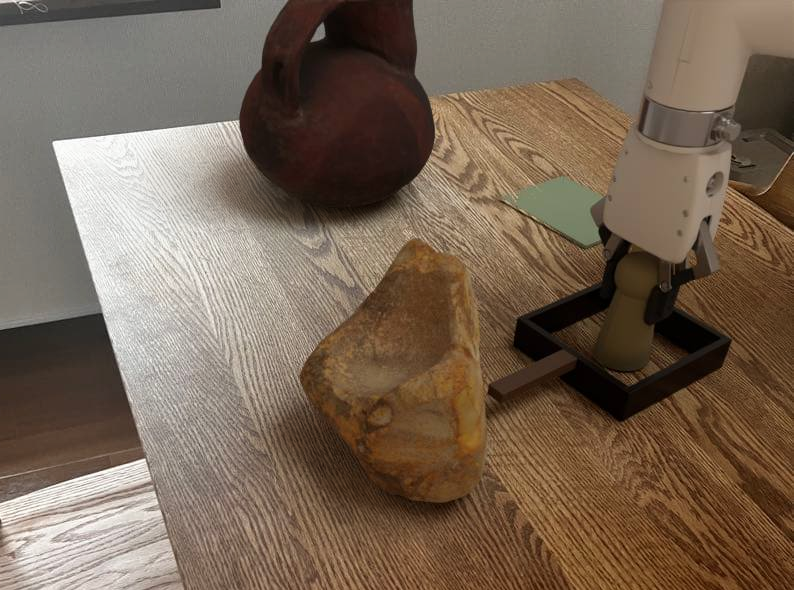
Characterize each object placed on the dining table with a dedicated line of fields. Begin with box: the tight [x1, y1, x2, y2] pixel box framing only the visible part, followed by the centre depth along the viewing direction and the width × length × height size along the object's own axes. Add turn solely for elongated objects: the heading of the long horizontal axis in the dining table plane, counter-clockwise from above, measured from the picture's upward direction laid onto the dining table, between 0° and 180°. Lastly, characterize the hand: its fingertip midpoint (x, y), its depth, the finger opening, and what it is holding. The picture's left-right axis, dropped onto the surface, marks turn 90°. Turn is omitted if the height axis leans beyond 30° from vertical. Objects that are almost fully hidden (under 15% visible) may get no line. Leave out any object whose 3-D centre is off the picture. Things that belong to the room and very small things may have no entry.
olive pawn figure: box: [592, 251, 660, 372], centre depth 83 cm, size 6×6×11 cm
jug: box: [238, 0, 436, 208], centre depth 103 cm, size 25×25×25 cm
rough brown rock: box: [299, 237, 488, 503], centre depth 73 cm, size 23×17×15 cm
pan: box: [486, 280, 733, 423], centre depth 84 cm, size 26×16×4 cm, turn 127°
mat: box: [501, 175, 605, 250], centre depth 109 cm, size 12×16×1 cm
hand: (633, 305), depth 83 cm, fingers closed on olive pawn figure, 5 cm apart
